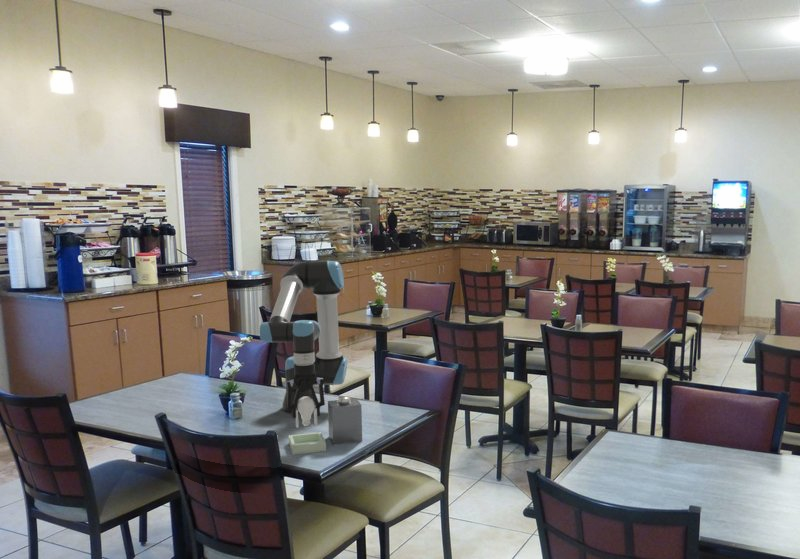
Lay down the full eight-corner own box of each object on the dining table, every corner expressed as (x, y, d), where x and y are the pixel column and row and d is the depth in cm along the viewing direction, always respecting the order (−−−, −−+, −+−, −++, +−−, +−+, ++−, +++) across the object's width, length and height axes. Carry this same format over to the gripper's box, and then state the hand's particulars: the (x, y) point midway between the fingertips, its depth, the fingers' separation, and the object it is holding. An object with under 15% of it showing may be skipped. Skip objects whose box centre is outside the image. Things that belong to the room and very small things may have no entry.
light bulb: (312, 429, 246) (311, 399, 245) (294, 428, 247) (293, 398, 246) (317, 423, 252) (317, 394, 251) (300, 422, 253) (300, 393, 252)
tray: (288, 443, 254) (288, 435, 254) (320, 440, 258) (320, 432, 257) (292, 454, 243) (292, 446, 243) (326, 450, 246) (326, 442, 246)
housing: (328, 436, 261) (327, 395, 260) (356, 433, 264) (355, 393, 263) (333, 444, 252) (331, 402, 251) (362, 441, 255) (361, 399, 254)
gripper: (278, 367, 241) (281, 431, 243) (332, 363, 246) (334, 426, 248) (276, 363, 248) (278, 425, 250) (328, 359, 253) (330, 420, 256)
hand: (306, 425), depth 249 cm, fingers closed on light bulb, 6 cm apart
